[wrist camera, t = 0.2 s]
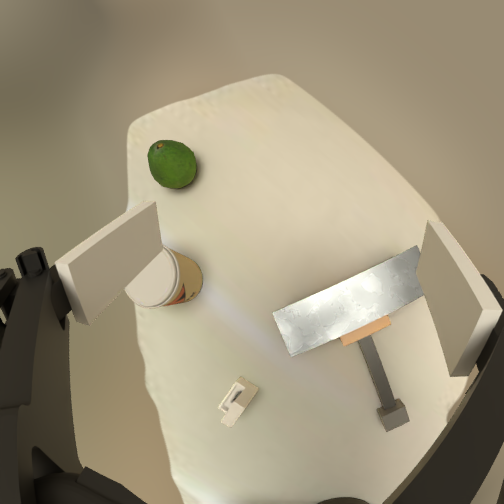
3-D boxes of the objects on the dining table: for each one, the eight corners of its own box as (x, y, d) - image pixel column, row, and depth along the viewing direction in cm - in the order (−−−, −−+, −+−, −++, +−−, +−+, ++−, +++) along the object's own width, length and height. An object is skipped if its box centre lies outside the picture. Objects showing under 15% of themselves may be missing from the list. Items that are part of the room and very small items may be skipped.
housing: (410, 290, 45) (435, 288, 34) (297, 343, 47) (290, 357, 36) (395, 256, 46) (416, 245, 35) (282, 309, 49) (272, 312, 37)
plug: (411, 408, 42) (425, 425, 34) (373, 426, 42) (382, 446, 35) (367, 291, 46) (377, 290, 38) (327, 309, 47) (329, 312, 39)
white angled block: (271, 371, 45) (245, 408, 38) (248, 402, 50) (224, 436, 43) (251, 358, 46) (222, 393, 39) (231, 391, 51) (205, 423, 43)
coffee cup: (165, 312, 53) (127, 315, 41) (154, 261, 55) (115, 252, 43) (213, 299, 51) (183, 299, 40) (200, 246, 53) (168, 232, 41)
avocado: (205, 190, 54) (177, 163, 43) (166, 199, 56) (131, 176, 44) (202, 151, 56) (176, 119, 44) (165, 161, 57) (133, 133, 46)
